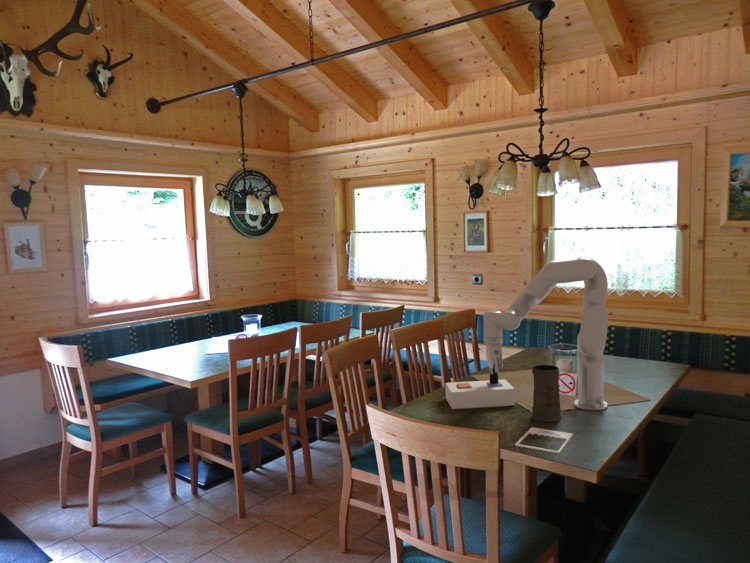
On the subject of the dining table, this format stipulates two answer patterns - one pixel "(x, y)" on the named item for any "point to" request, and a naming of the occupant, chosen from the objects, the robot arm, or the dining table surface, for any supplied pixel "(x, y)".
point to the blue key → (494, 384)
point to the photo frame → (546, 433)
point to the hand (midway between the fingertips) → (494, 383)
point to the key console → (480, 395)
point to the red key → (463, 385)
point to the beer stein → (546, 393)
